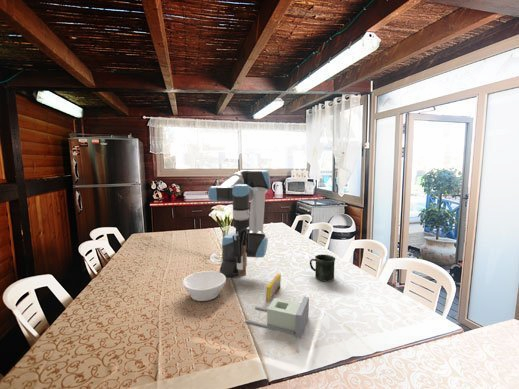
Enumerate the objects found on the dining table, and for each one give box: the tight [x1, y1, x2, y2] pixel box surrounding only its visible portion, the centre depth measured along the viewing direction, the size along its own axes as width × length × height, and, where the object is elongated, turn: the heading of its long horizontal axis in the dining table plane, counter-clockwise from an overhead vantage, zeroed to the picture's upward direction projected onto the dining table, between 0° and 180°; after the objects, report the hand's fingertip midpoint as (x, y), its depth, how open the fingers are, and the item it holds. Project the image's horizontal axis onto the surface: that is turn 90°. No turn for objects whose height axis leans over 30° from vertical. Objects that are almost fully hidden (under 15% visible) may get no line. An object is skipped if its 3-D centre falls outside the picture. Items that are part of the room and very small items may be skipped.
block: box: [266, 297, 301, 333], centre depth 103 cm, size 12×9×7 cm
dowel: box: [238, 245, 247, 277], centre depth 120 cm, size 4×4×14 cm
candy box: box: [265, 273, 282, 302], centre depth 127 cm, size 16×2×8 cm, turn 157°
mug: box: [309, 254, 336, 282], centre depth 147 cm, size 11×15×12 cm
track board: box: [244, 295, 310, 339], centre depth 104 cm, size 24×14×10 cm, turn 68°
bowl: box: [182, 270, 227, 302], centre depth 128 cm, size 21×21×8 cm
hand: (242, 267), depth 120 cm, fingers closed on dowel, 3 cm apart
